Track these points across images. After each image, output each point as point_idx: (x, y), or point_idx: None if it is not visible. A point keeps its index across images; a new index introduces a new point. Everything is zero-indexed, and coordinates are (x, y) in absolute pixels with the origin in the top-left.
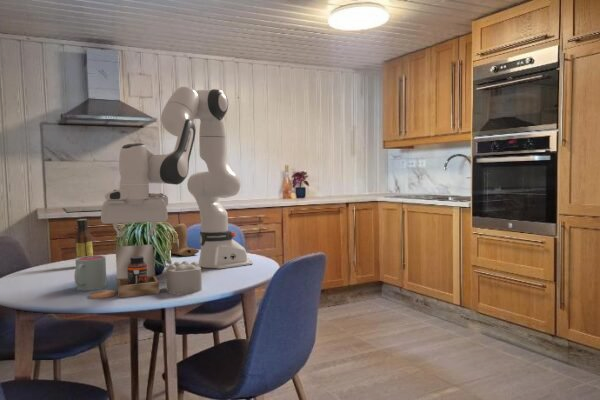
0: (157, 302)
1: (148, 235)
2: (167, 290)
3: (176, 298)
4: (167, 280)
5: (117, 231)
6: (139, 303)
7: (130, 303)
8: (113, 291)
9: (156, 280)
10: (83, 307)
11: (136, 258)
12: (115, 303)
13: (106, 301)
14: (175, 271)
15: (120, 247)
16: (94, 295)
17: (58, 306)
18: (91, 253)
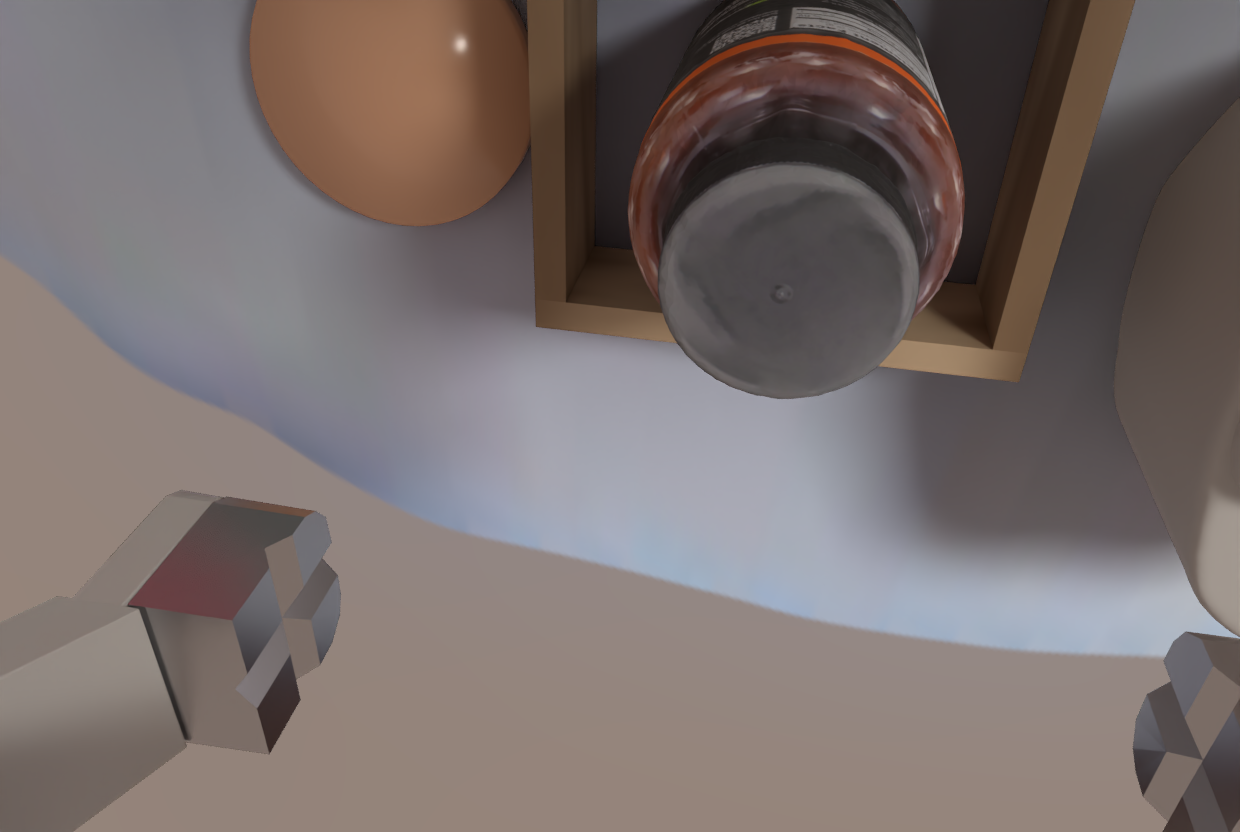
0: (864, 601)
1: (1147, 718)
2: (1140, 246)
3: (1060, 582)
4: (1171, 331)
5: (119, 756)
6: (722, 551)
7: (653, 514)
8: (506, 79)
9: (1033, 274)
10: (294, 426)
11: (753, 392)
12: (535, 450)
13: (457, 346)
14: (1226, 622)
15: None
16: (317, 166)
17: (79, 288)
18: None
